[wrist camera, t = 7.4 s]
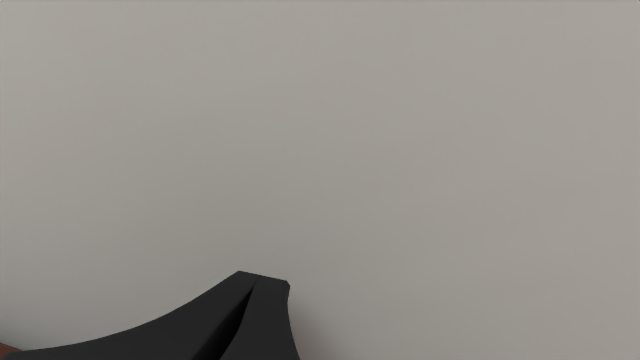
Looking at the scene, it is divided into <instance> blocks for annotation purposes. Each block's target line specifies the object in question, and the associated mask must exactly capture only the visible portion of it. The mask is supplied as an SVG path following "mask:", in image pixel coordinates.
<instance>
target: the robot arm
mask: <svg viewBox="0 0 640 360" xmlns="http://www.w3.org/2000/svg"><path fill="white" fill-rule="evenodd" d="M289 290H290V285H289V284H288V282H287V281H285V280H281V279H276V278H271V277H267V276H262V275H257V274H252V273H248V272H243V271H237V272H236V273H234V274H233V275H231V276H229V277H228V278H226V279H225V280H223V281H222V282H220V283H219V284H217V285H216V286H214V287H213V288H211V289H210V290H208V291H207V292H205V293H203V294H202V295H200V296H199V297H197V298H195V299H194V300H192V301H190V302H188V303H187V304H185V305H183V306H181V307H179V308H177V309H175V310H174V311H172V312H170V313H168V314H166V315H164V316H162V317H159V318H157V319H155V320H152V321H150V322H147V323H145V324H142V325H140V326H137V327H135V328H132V329H129V330H126V331H122V332H119V333H116V334H112V335H109V336H106V337H102V338H99V339H95V340H90V341H86V342H82V343H77V344H71V345H66V346H60V347H54V348H46V349H37V350H28V351H19V352H9V353H8V354H6V355H5V356H4V357H3V358H2V359H0V360H300V358H299V355H298V352H297V349H296V346H295V343H294V339H293V336H292V332H291V327H290V321H289V315H288V305H287V302H288V296H289Z"/></svg>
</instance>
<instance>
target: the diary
mask: <svg viewBox="0 0 640 360" xmlns="http://www.w3.org/2000/svg"><path fill="white" fill-rule="evenodd" d="M19 351H22V350H19V349H16V348H13V347H10V346H8V345H5V344H2V343H0V359H2V358H3V357H4V356H5V355H6V354H8V353H9V352H19Z"/></svg>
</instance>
